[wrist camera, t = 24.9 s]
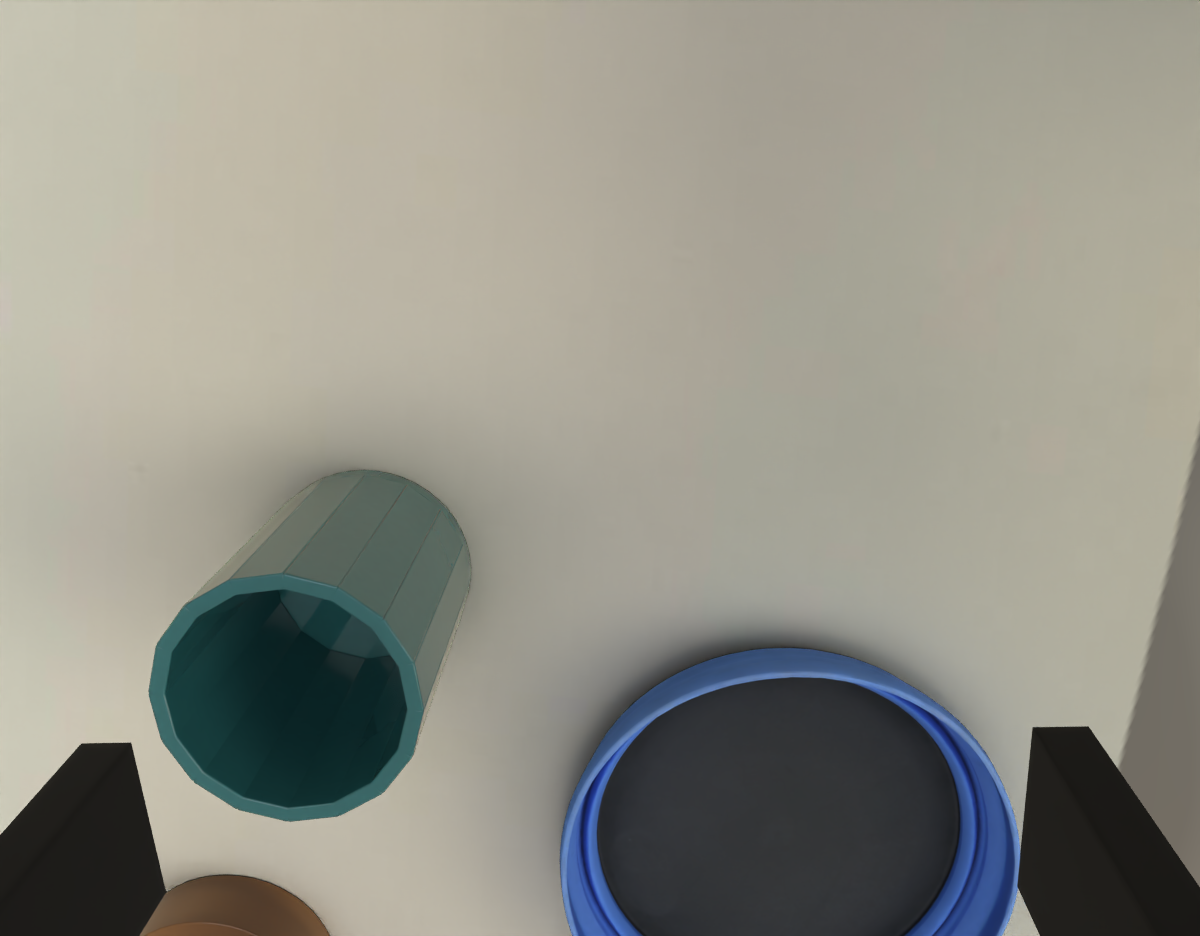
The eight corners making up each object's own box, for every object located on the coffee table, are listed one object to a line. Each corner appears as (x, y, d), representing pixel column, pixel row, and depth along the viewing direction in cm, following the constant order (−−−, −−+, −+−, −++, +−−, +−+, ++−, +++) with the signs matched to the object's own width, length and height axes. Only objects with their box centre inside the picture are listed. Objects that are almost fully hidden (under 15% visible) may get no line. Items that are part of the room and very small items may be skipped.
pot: (491, 498, 41) (447, 614, 30) (446, 679, 43) (391, 846, 32) (288, 447, 40) (171, 545, 30) (253, 632, 42) (132, 785, 32)
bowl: (592, 1019, 47) (591, 1085, 44) (535, 656, 42) (527, 699, 39) (997, 981, 46) (1027, 1046, 43) (985, 606, 41) (1018, 645, 38)
